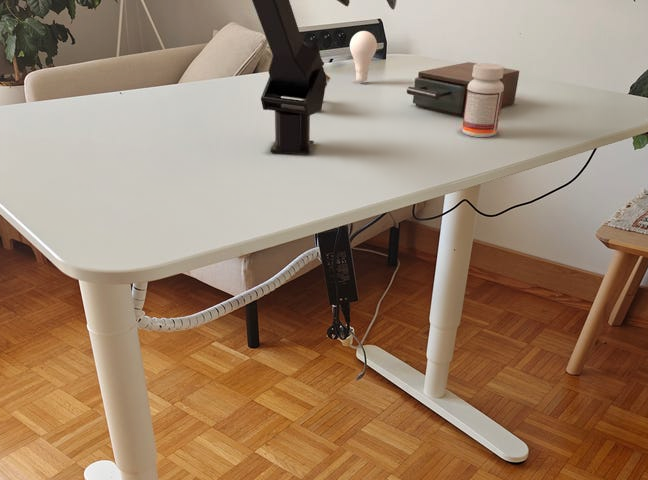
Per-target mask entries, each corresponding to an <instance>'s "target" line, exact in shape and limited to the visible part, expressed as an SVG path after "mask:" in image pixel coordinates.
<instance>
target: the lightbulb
mask: <svg viewBox="0 0 648 480" xmlns="http://www.w3.org/2000/svg"><path fill="white" fill-rule="evenodd" d="M377 48H378V42H377V38H376V37H375V35H374V34H373V33H371V32H370V31H367V30H360V31H358V32H356V33H355V34H354V35H353V36H352V37H351V39H350V41H349V50H350V53H351V56H352V58H353V61H354V68H355V78H356V81H357V82H358V83H360V84H364V83H365V82H367V81H368V73H369V70H370V65H371V61H372V60H373V58H374V56H375V54H376V52H377Z"/></svg>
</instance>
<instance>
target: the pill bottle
mask: <svg viewBox="0 0 648 480" xmlns="http://www.w3.org/2000/svg"><path fill="white" fill-rule="evenodd" d="M504 68H505V66H504V65H502V64H497V63H488V62H486V63H485V62H484V63H477V64H475V65H474V66H473V73H472V77H474V80H472V81H470V83H469V84H468V88H467V96H466V103H465V112H464V117H463V119H462V129H461V130H462V133H463V134H465V135H468V136H470V137H475V138H489V137H494V136H495V135H496V134H497V132H498V128H499V122H500V116H501V109H502V108H501V103H502V97H503V91H504V85H503V83H502V82H501V81H499V79H501V78H503V71H504Z"/></svg>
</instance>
